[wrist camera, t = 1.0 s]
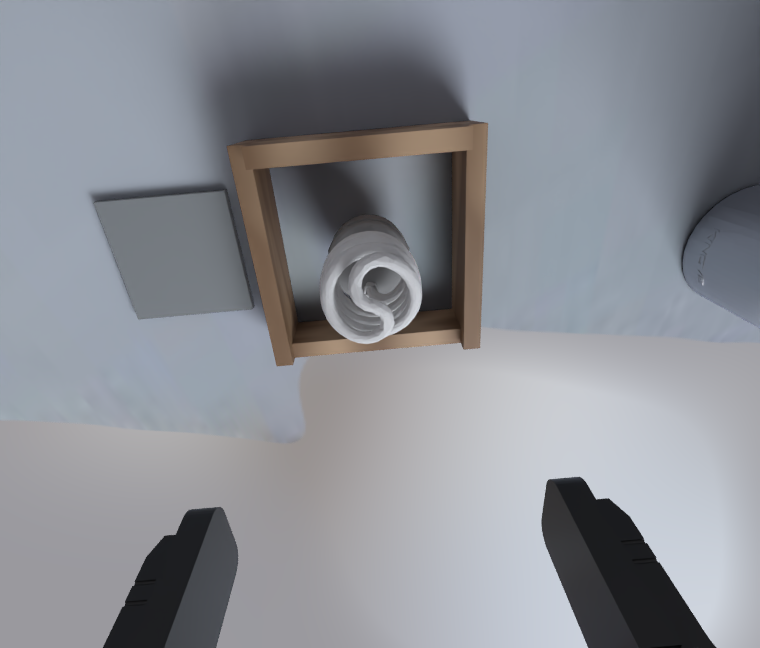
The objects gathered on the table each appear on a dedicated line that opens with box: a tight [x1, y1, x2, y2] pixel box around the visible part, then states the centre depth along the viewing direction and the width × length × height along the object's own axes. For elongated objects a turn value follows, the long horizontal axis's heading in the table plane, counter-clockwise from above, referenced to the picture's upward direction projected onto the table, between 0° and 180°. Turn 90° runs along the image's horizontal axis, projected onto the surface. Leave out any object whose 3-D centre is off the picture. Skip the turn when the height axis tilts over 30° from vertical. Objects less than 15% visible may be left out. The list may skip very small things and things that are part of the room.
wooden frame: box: [227, 121, 488, 366], centre depth 29 cm, size 15×15×6 cm
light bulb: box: [320, 215, 422, 344], centre depth 26 cm, size 6×6×12 cm
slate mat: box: [94, 190, 254, 319], centre depth 31 cm, size 9×9×1 cm
